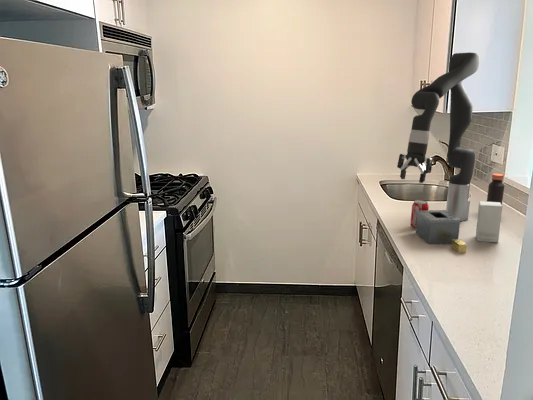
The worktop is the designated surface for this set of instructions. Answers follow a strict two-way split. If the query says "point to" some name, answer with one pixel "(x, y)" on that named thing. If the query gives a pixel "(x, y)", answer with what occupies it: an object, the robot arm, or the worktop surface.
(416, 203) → the soda can
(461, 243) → the wooden block
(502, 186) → the bottle
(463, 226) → the worktop surface
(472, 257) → the worktop surface
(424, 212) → the box
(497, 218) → the skincare box
